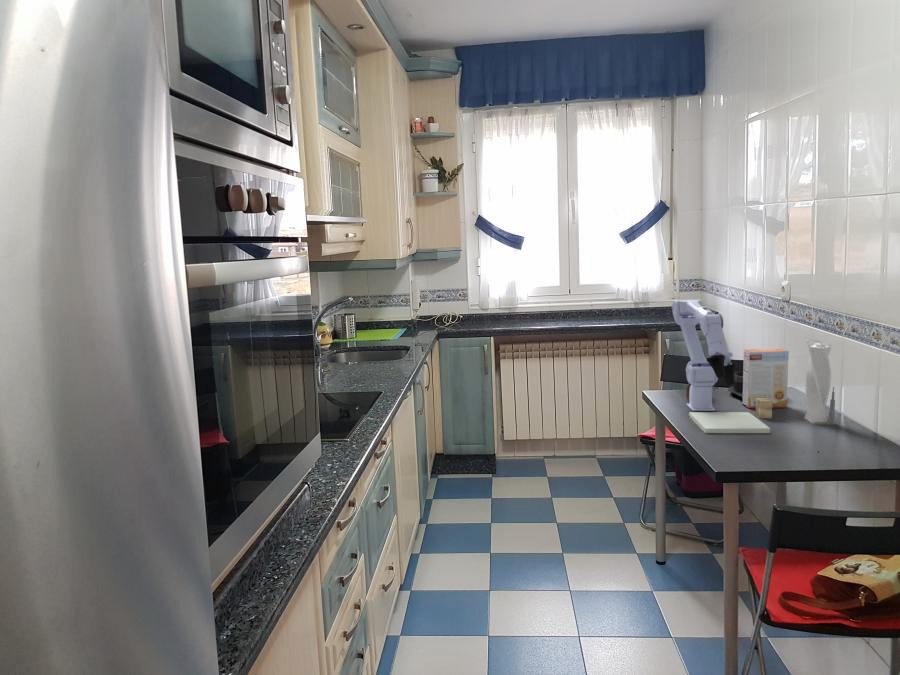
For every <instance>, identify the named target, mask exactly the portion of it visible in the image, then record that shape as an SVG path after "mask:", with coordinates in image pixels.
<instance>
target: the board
mask: <svg viewBox="0 0 900 675" xmlns="http://www.w3.org/2000/svg"><path fill="white" fill-rule="evenodd" d="M688 416H690V417H689V418H690V419H691V418H692V419H691V420H692V421H693V422H694V423H695V424H696V426H698V428H699V429H701V431H703V433H704V434H771V428H770V427H769V426H767V425H766V424H765V423H764V422H762V421H761V420H760V419H759V418H758V417H757V416H754V415H753V414H752V413H750V412H748V411H747V412H746V411H745V412H744V411H743V412H742V411H741V412H740V411H738V412H737V411H731V412H730V411H728V412H727V411H726V412H725V411H724V412H723V411H722V412H721V411H720V412H719V411H718V412H717V411H692V412H689V413H688Z"/></svg>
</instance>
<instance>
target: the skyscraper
mask: <svg viewBox="0 0 900 675" xmlns="http://www.w3.org/2000/svg"><path fill="white" fill-rule="evenodd" d="M809 342H814V344H813V345H811V344H810V343H809ZM806 343H807V347H808V352H809V358H808V363H807V366H806V371H805V372H806V373H805V382H804V383H805V384H804V385H805V387H804V388H805V399H806V405H807V410H806V413H805V415H804V418H803V419H804V420H805V421H807V422H808V423H811V424H812V425H813V426H814V425H817V426H819V425H824V426H825V425H836V423H835V414H836V413H835V411H836V410H835V408H836V399H835V386H832V391H831V399H830V401H829V402H830V403H829V412H828V418H827V415H826V411H825V408H826V406H827V402H828V398H829V395H830V390H831V382H832V371H831V364H830V358H829V355H830V352H831V349H832V344H830V343H826V342H821V341H820V340H816V339H807V340H806ZM810 345H811V346H810Z"/></svg>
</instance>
